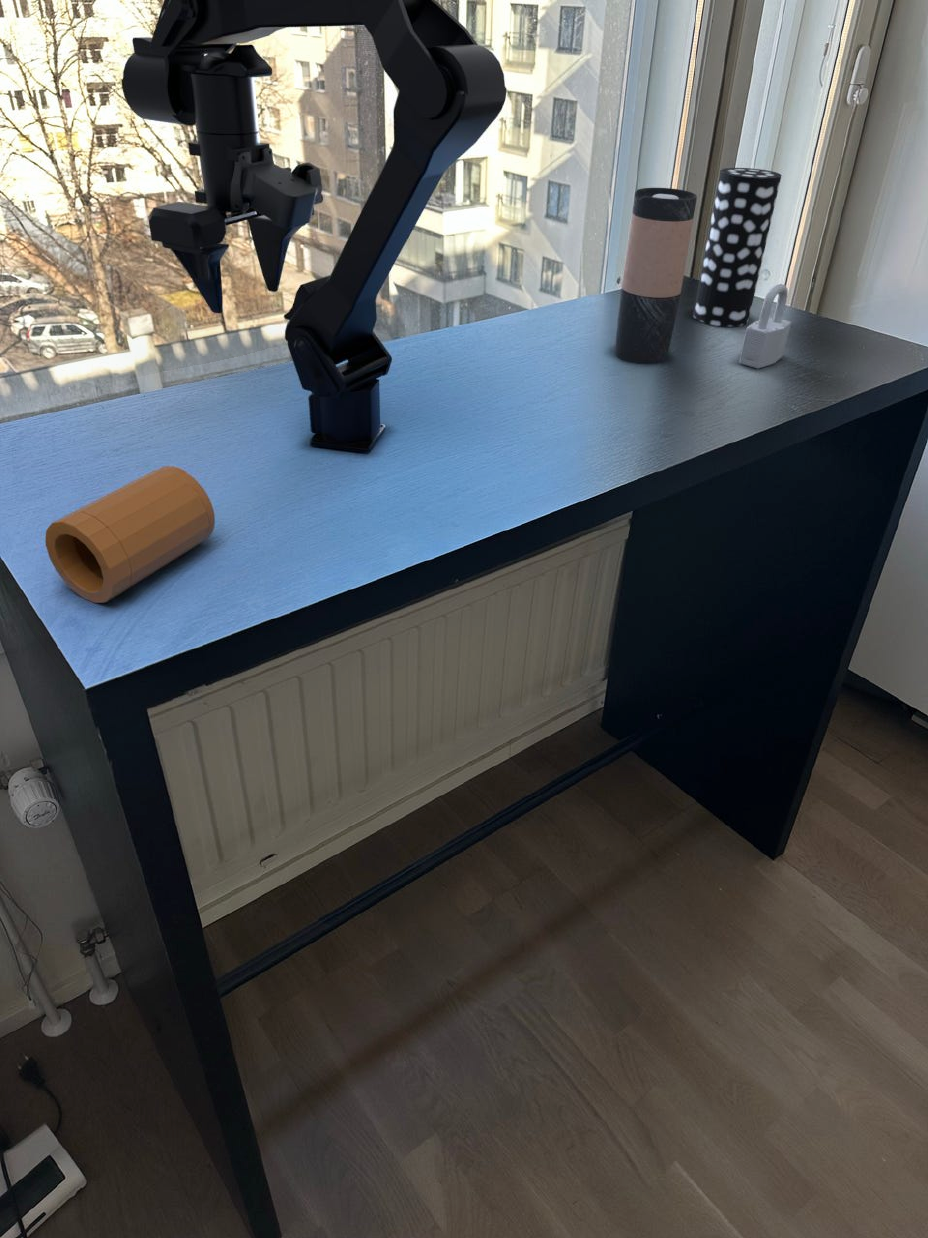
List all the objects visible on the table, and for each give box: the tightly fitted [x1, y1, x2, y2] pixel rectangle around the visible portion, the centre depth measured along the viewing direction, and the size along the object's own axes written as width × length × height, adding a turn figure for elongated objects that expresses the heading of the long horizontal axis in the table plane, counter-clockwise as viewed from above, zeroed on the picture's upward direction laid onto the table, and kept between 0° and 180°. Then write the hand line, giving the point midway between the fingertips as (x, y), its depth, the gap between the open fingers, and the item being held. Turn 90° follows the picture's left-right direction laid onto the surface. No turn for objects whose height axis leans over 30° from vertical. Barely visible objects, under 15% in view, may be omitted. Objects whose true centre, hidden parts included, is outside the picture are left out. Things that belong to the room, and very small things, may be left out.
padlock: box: [738, 283, 792, 370], centre depth 114 cm, size 7×4×10 cm, turn 137°
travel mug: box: [614, 187, 698, 365], centre depth 111 cm, size 8×8×20 cm
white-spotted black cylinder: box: [692, 167, 783, 328], centre depth 126 cm, size 8×8×20 cm
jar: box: [45, 465, 216, 604], centre depth 68 cm, size 7×7×11 cm
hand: (246, 301), depth 90 cm, fingers open, 9 cm apart
